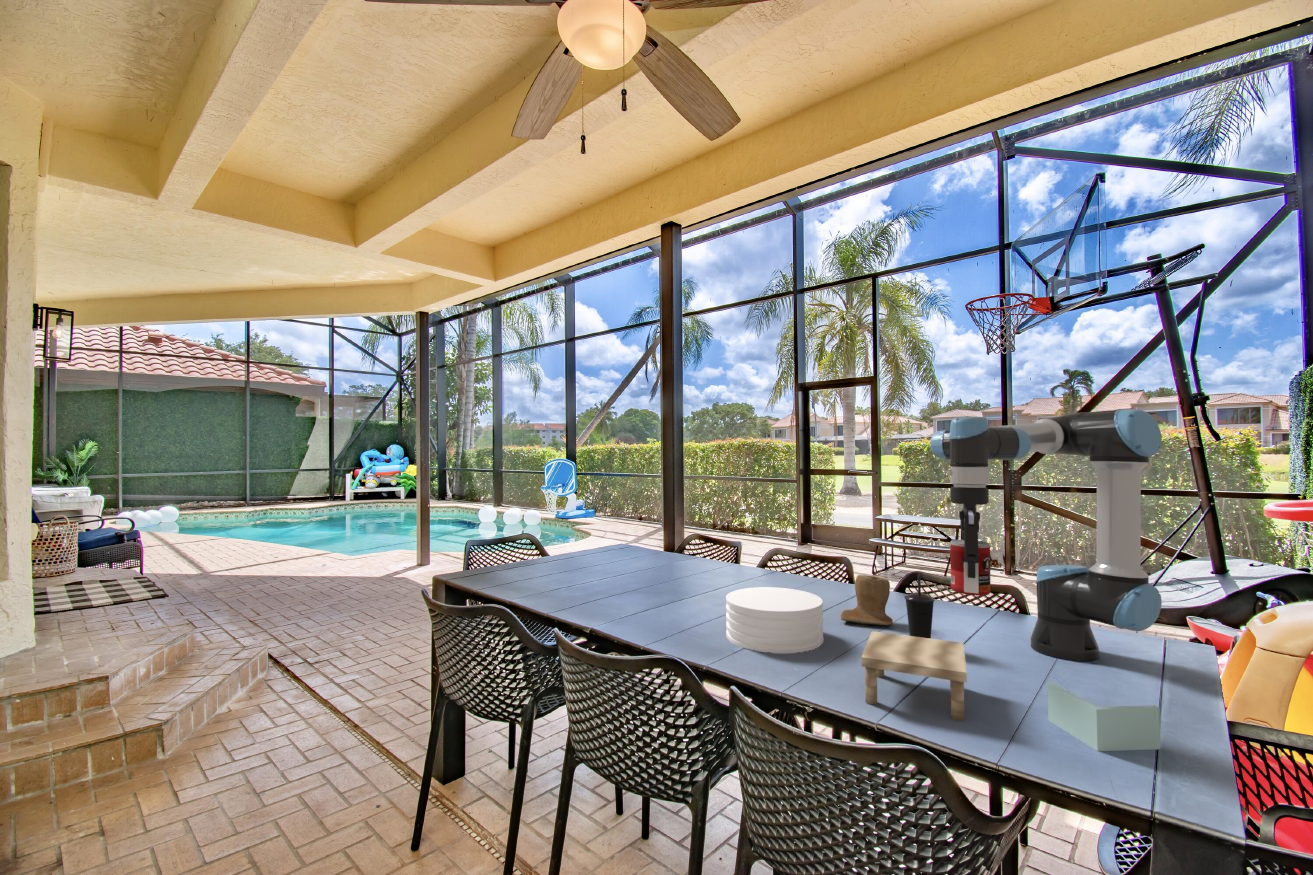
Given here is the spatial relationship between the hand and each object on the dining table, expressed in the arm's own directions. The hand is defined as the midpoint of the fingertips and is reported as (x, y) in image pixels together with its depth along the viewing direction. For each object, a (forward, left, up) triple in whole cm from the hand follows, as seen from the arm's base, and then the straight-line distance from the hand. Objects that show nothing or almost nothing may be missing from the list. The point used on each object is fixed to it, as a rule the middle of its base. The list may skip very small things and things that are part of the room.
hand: (970, 588), depth 127 cm
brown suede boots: (+27, -48, -24) cm, 61 cm away
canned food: (0, 0, -1) cm, 1 cm away
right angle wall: (-21, +8, -24) cm, 33 cm away
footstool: (+11, +5, -24) cm, 27 cm away
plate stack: (+50, -21, -24) cm, 60 cm away
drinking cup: (+11, -30, -24) cm, 40 cm away
